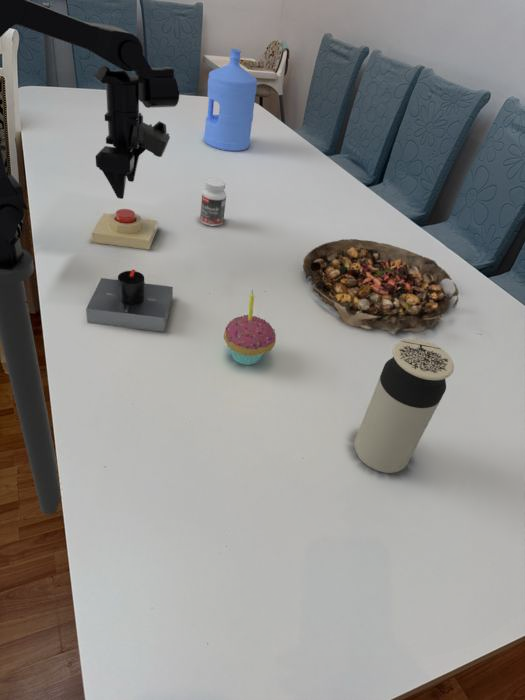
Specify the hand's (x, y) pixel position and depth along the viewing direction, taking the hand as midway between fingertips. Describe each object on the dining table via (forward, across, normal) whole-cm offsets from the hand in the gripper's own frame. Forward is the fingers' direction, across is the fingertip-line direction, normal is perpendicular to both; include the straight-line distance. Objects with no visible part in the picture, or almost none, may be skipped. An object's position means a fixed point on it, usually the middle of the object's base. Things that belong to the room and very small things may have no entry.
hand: (125, 189), depth 102 cm
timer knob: (+8, -26, -7) cm, 29 cm away
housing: (+11, +1, +1) cm, 11 cm away
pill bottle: (+12, +15, -17) cm, 25 cm away
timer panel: (+11, -26, -7) cm, 30 cm away
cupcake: (+11, -35, -28) cm, 46 cm away
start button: (+8, +1, +1) cm, 8 cm away
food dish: (+12, -6, -56) cm, 57 cm away
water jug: (+12, +77, -16) cm, 79 cm away
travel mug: (+11, -53, -48) cm, 73 cm away
